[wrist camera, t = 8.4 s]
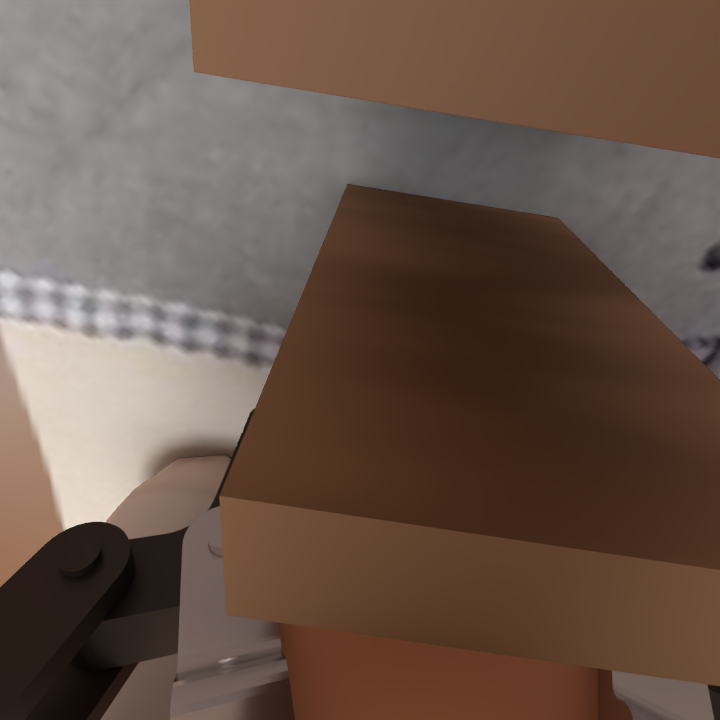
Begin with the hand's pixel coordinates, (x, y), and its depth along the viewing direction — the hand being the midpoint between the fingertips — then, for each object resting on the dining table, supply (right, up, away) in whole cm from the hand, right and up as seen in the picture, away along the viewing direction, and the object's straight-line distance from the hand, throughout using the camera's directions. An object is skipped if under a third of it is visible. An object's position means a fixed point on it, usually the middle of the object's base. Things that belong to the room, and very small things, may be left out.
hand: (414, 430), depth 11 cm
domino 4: (+1, +5, 0) cm, 5 cm away
